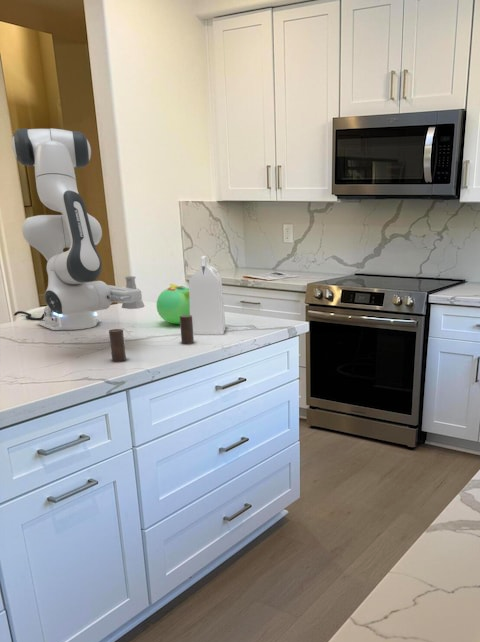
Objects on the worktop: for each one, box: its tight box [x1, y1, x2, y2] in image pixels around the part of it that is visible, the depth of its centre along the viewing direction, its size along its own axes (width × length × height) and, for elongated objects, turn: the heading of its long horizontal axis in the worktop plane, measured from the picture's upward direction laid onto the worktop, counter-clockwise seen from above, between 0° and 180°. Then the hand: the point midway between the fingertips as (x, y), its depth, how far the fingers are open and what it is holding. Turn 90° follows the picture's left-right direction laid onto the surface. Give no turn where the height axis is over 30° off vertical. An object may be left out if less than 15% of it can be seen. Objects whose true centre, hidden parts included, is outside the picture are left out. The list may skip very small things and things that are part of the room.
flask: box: [121, 275, 145, 310], centre depth 199 cm, size 7×7×10 cm
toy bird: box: [156, 283, 190, 325], centre depth 230 cm, size 18×17×15 cm
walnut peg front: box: [108, 328, 127, 363], centre depth 180 cm, size 4×4×9 cm
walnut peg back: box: [179, 315, 195, 345], centre depth 202 cm, size 4×4×9 cm
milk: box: [188, 255, 226, 335], centre depth 216 cm, size 12×12×26 cm
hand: (133, 290), depth 200 cm, fingers closed on flask, 3 cm apart
